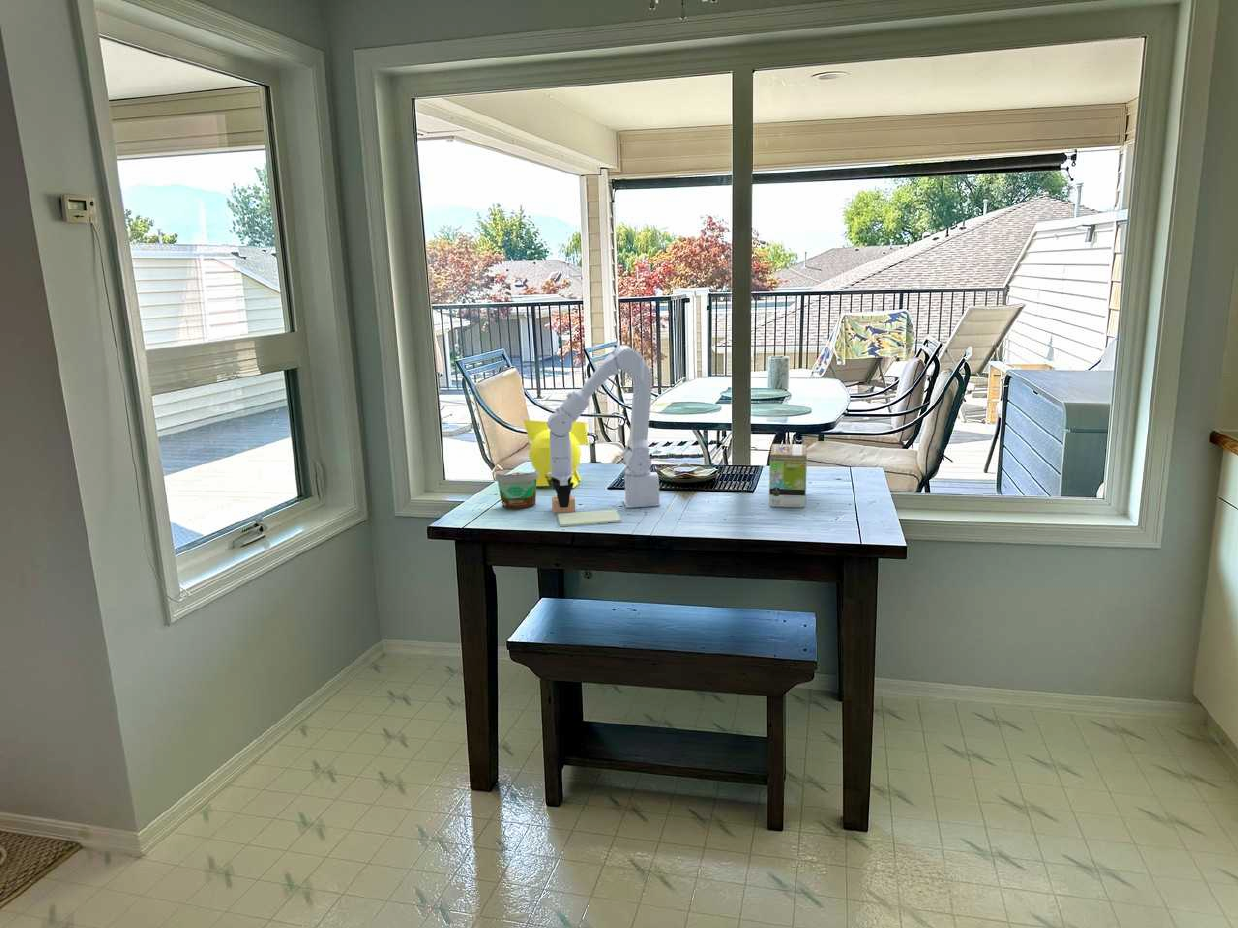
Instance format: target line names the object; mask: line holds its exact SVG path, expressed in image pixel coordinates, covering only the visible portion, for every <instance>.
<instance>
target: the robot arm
mask: <svg viewBox="0 0 1238 928" xmlns="http://www.w3.org/2000/svg"><path fill="white" fill-rule="evenodd" d="M620 370H622V371H623V372H625V373H626V374H627V375H628V376H629V378H631V380H632V381H633V387H632V388H633V389H632V402H631V403H632V404H631V414H630V415H631V416H630V425H629V438H628V440H627V443H626V449H625V450H624V452H623V455H622V461H623V463H624V465H626V468H625V470H624V471H623V473H624V474H623V475H624V476H623V477H624V493H625V494H624V496H625V498H623V499H622V502H623V504H624V507H625V508H626V509H629V508H630V509H631V508H634V509H635V508H645V507H647V508H648V507H659V506H660V505H661V503H660V481H659V475H658V472H657V471H651V467H652V460H651V457H650V454H649V453H650V449H649V443H648V437H649V436H648V435H649V427H650V425H649V424H650V412H651V411H650V410H651V400H652V387H653V374H652V372H651V370H650V368H649V366H648V365H647V363H646V361H645V358H644V356H643V355H642V354H641V353H639V351H637V350H636V349H634V348H632V347H630V346H628V345H625V344H623V345H618V346H616V347H615V348H614V349H613V350H612V352H611V353H609V354H608V355H607V356H606V357H605V358H604V359H603V361H602V362H601V363H600V364H599V366H598V367H597V368H596V369H595V371H594V372H593V374H591V376H590V377H589V378H588V380H586V382H585V383H584V384H583V386H582V387H581V388H580V389H579V390H573V391H572V392H568V393H567V394H566V399H565V400H564V401H563V402H562V404H560V406H559V407H558V406H557V407H556V408H555V409H554V411H555V412H553V413H551V414H550V415H549V417H548V419H547V421H546V422H547V425H548V428H549V429H548V430H551V431H550V457H551V472H548V473H547V476H552V478H551V481H552V487H553V488H554V490H555V493H556V495H557V496H558V500H559V504H560V507H561V508H564V507H568V505H569V498H570V495H571V492H572V489H573V488H572V487H573V485H574V483H573V482H570V481H571V479H572V475H573V471H572V458H571V440H570V433H569V432H570V431H571V428H572V423H573V422H577V420H578V419H579V418H580V416H581V415H582V414H583V413H584V412H585V410H587V408H588V407H589V406H590V403H591V402H590V398H591V396H593V395H594V394H595V393H596V392H597V390H598V389H599V388H600V387H601V386H602V385H603V384H604V383H605V382H606V380H607V379H608V378H609V377H612V376H616V375H620V374H621V372H620Z"/></svg>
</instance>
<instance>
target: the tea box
mask: <svg viewBox="0 0 1238 928" xmlns="http://www.w3.org/2000/svg"><path fill="white" fill-rule="evenodd" d="M769 453H770V454H769V455H770V456H769V476H768V477H769V478H768V479H769V482H768V483H769V484H768V506H769V507H773V508H774V507H776V508H805V507H806V496H807V495H806V494H807V493H806V492H807V467H808V466H807V465H808V464H807V461H808V459H807V457H808V456H807V453H808V452H807V444H802V443H801V444H798V443H797V444H795V443H794V444H791V443H789V444H787V443H772V444H771V448H770V452H769Z"/></svg>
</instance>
